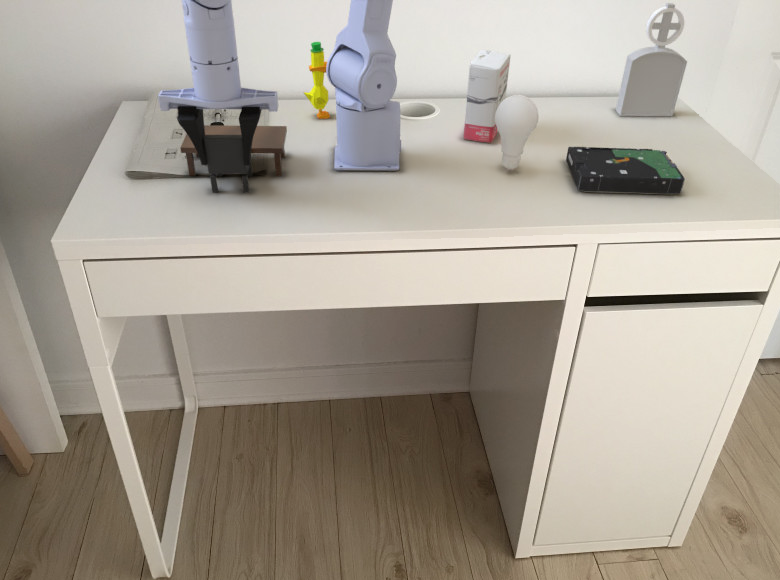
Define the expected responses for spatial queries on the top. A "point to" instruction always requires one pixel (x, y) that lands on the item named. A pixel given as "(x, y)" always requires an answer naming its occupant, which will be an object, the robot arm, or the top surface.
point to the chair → (226, 158)
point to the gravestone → (654, 71)
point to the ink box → (485, 94)
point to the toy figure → (318, 81)
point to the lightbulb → (515, 127)
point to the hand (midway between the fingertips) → (227, 162)
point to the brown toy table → (263, 142)
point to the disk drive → (623, 170)
